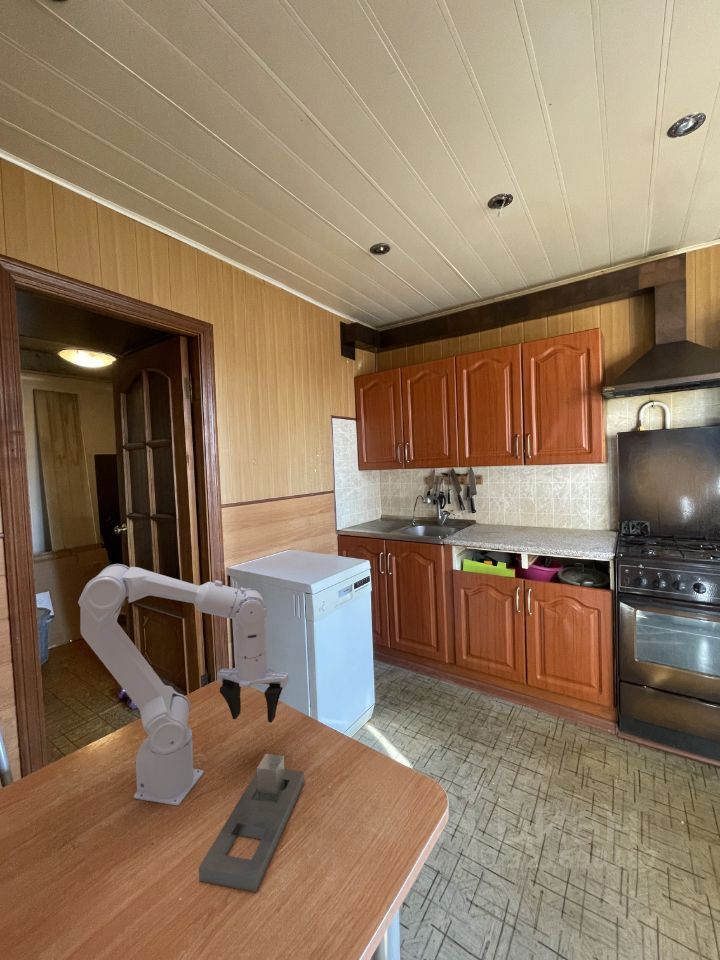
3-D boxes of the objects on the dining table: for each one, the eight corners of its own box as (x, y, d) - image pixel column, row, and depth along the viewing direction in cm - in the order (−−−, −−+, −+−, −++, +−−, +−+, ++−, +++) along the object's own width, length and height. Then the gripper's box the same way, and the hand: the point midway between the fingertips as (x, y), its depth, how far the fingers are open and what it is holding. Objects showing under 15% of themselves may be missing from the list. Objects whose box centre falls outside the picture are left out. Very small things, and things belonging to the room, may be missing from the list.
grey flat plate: (199, 880, 58) (198, 867, 58) (260, 775, 77) (260, 765, 77) (256, 892, 56) (255, 878, 56) (304, 781, 75) (303, 771, 75)
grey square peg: (258, 806, 70) (257, 767, 70) (267, 790, 74) (265, 753, 74) (277, 809, 70) (276, 770, 69) (285, 792, 73) (283, 755, 73)
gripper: (207, 659, 77) (210, 727, 78) (278, 663, 75) (280, 734, 75) (226, 643, 84) (228, 705, 85) (291, 646, 82) (293, 711, 82)
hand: (254, 717), depth 80 cm, fingers open, 7 cm apart
